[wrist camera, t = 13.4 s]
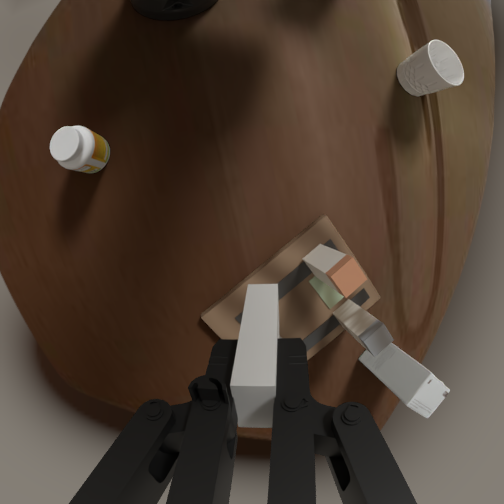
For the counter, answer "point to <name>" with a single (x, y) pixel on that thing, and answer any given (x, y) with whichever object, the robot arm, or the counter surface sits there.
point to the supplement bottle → (79, 149)
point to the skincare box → (406, 379)
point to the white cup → (430, 69)
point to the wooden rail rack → (306, 298)
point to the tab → (335, 269)
